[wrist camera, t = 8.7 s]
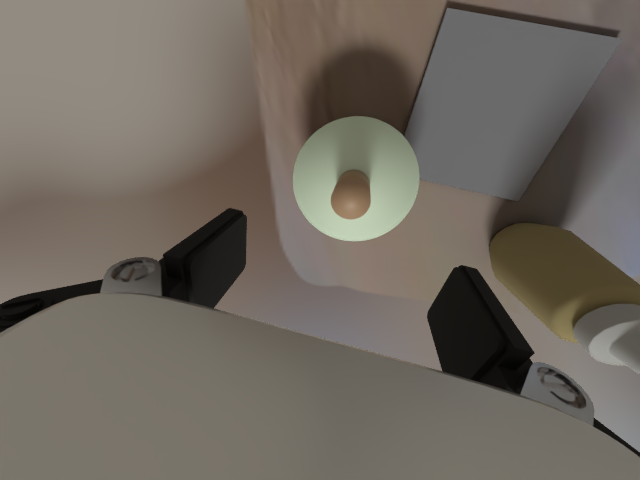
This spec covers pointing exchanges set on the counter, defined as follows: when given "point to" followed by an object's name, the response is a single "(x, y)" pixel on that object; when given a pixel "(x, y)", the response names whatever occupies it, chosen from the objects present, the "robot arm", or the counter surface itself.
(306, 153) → the lid
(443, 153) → the mat
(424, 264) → the counter surface
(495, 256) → the squeeze bottle
